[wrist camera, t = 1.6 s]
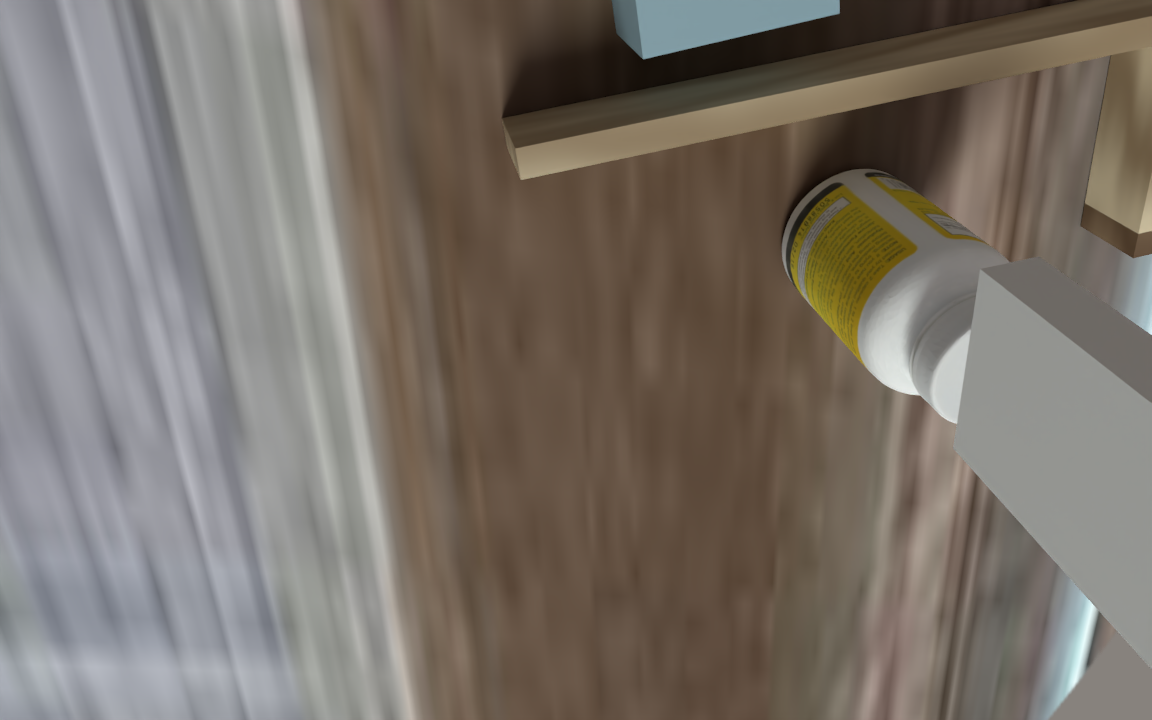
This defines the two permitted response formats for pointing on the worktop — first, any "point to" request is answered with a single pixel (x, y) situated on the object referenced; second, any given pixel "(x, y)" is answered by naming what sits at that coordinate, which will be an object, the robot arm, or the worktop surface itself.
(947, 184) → the worktop surface
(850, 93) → the wooden frame tray
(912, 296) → the supplement bottle
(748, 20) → the block
